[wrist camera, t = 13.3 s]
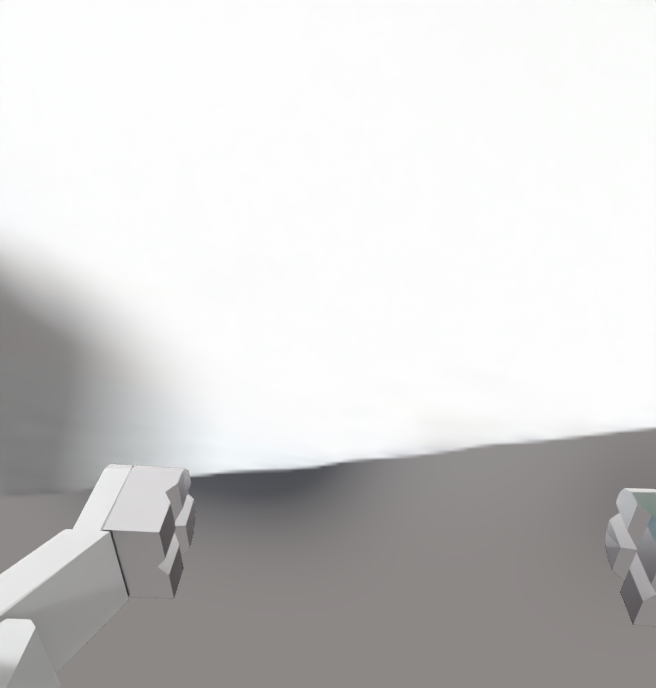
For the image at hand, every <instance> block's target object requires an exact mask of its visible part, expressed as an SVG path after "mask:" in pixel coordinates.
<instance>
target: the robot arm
mask: <svg viewBox="0 0 656 688" xmlns="http://www.w3.org/2000/svg"><path fill="white" fill-rule="evenodd" d="M190 485H191V480H190V475H189V470H187V469H184V468H170V467H156V466H142V465H135V466H134V465H120V464H110V465H108V466H107V467H106V468H105V469H104V470H103V472H102V474H101V476H100V478H99V480H98V482H97V484H96V485H95V487H94V489H93V491H92V493H91V495H90V497H89V499H88V501H87V503H86V505H85V507H84V508H83V510H82V512H81V514H80V516H79V518H78V520H77V522H76V524H75V526H74V528H73V529H64V530H63V531H61V532H60V533H59V534H57V535H56V536H54V537H53V538H51V539H50V540H49V541H47V542H46V543H44V544H43V545H41V546H40V547H39V548H37V549H36V550H34V551H33V552H31V553H30V554H29V555H27V556H26V557H25V558H23V559H21V560H20V561H19V562H17V563H16V564H14V565H13V566H11V567H10V568H9V569H7V570H6V571H4V572H3V573H2V574H0V688H61V685H60V683H59V681H58V679H57V676H56V674H57V673H58V672H59V671H60V670H61V669H62V668H63V667H64V666H65V665H66V664H67V663H68V662H69V661H70V660H71V659H72V658H73V657H74V656H75V655H76V653H78V651H80V650H81V649H82V648H83V647H84V645H85V644H86V643H87V642H88V641H89V640H90V639H91V638H92V637H93V636H94V635H95V634H96V633H97V632H98V631H99V630H100V629H101V628H102V627H103V626H104V625H105V624H106V623H107V622H108V621H109V620H110V619H111V618H112V617H113V616H114V615H115V614H116V613H117V612H118V611H119V609H121V608H122V607H123V606H124V605H125V604H126V603H127V602H128V600H129V598H128V597H134V598H168V599H173V598H174V597H175V593H176V590H177V587H178V584H179V581H180V578H181V574H182V571H183V563H182V558H181V555H182V554H183V553H185V551H187V550H188V549H189V548H190V545H191V542H192V538H193V534H194V526H195V504H194V499H193V498H192V497H191V496H189V494H188V491H189V488H190ZM616 505H617V507H618V510H619V513H618V514H617V515H615V516H614V517H612V518H611V519H609V523H608V526H607V529H606V538H605V539H606V541H605V543H606V544H605V547H606V552H607V558H608V561H609V563H610V566H611V569H612V571H613V572H614V573H616V574H617V575H618V576H619V577H620V578H621V579H623V580H624V583H623V586H622V588H621V591H620V593H621V595H622V598H623V600H624V603H625V605H626V608H627V611H628V613H629V616H630V618H631V621H632V624H633V625H641V626H652V627H656V489H633V488H624V489H623V490H622V491H621V492H620V493H619V495H618V497H617V500H616Z"/></svg>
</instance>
